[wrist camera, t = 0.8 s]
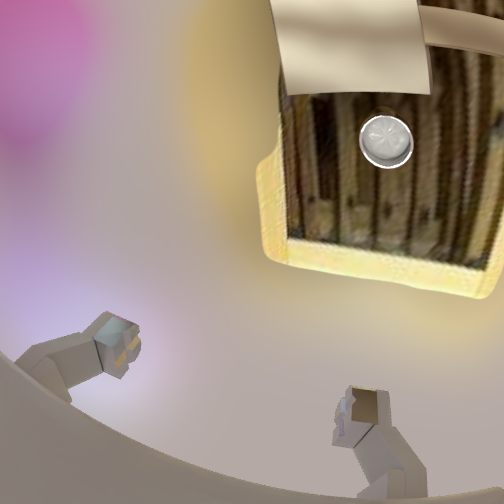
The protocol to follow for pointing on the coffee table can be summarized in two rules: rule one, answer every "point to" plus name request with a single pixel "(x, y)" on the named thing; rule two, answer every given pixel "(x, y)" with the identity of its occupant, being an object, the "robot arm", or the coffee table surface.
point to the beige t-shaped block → (372, 43)
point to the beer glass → (386, 138)
